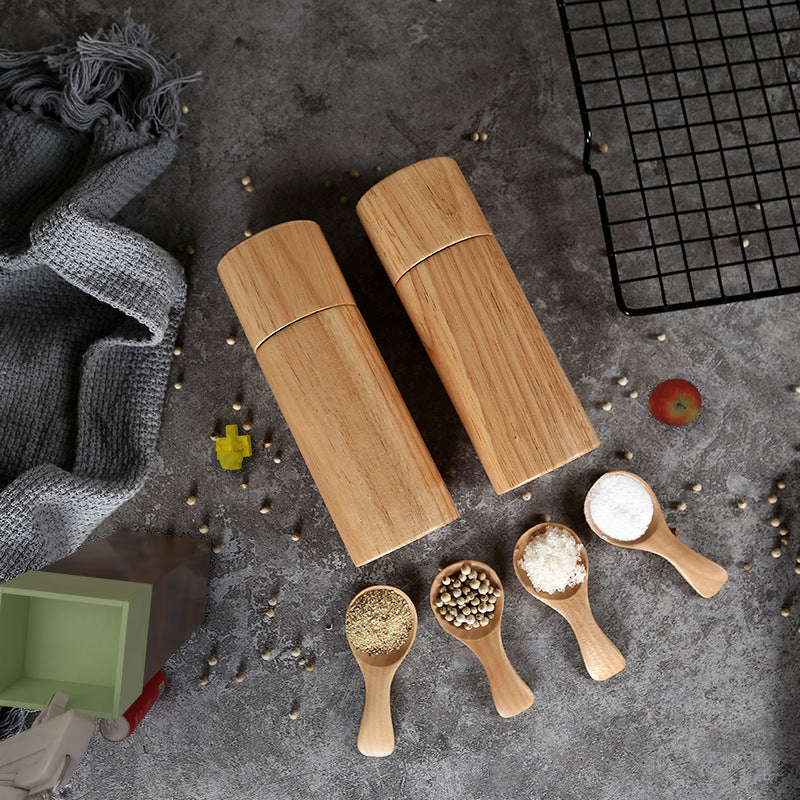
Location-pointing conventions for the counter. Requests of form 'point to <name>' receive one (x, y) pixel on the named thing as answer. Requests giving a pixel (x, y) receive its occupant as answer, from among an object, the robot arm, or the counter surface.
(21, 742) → the robot arm
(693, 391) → the apple
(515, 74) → the counter surface
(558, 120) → the counter surface
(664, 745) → the counter surface
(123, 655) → the bin
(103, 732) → the beverage can
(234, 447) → the yellow cross puzzle piece
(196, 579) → the stand
